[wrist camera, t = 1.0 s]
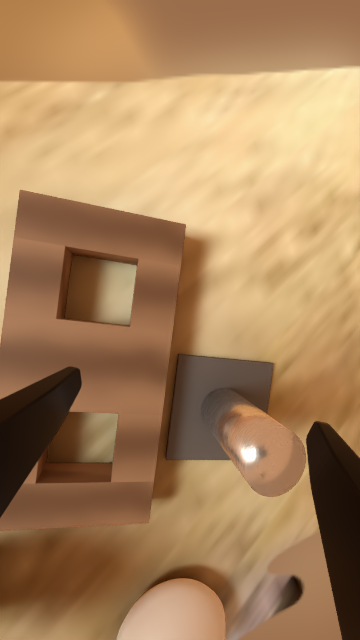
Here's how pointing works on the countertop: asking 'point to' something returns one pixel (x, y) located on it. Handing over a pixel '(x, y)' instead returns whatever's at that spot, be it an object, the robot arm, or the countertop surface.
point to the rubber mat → (192, 388)
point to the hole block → (90, 354)
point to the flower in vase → (175, 613)
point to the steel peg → (254, 442)
